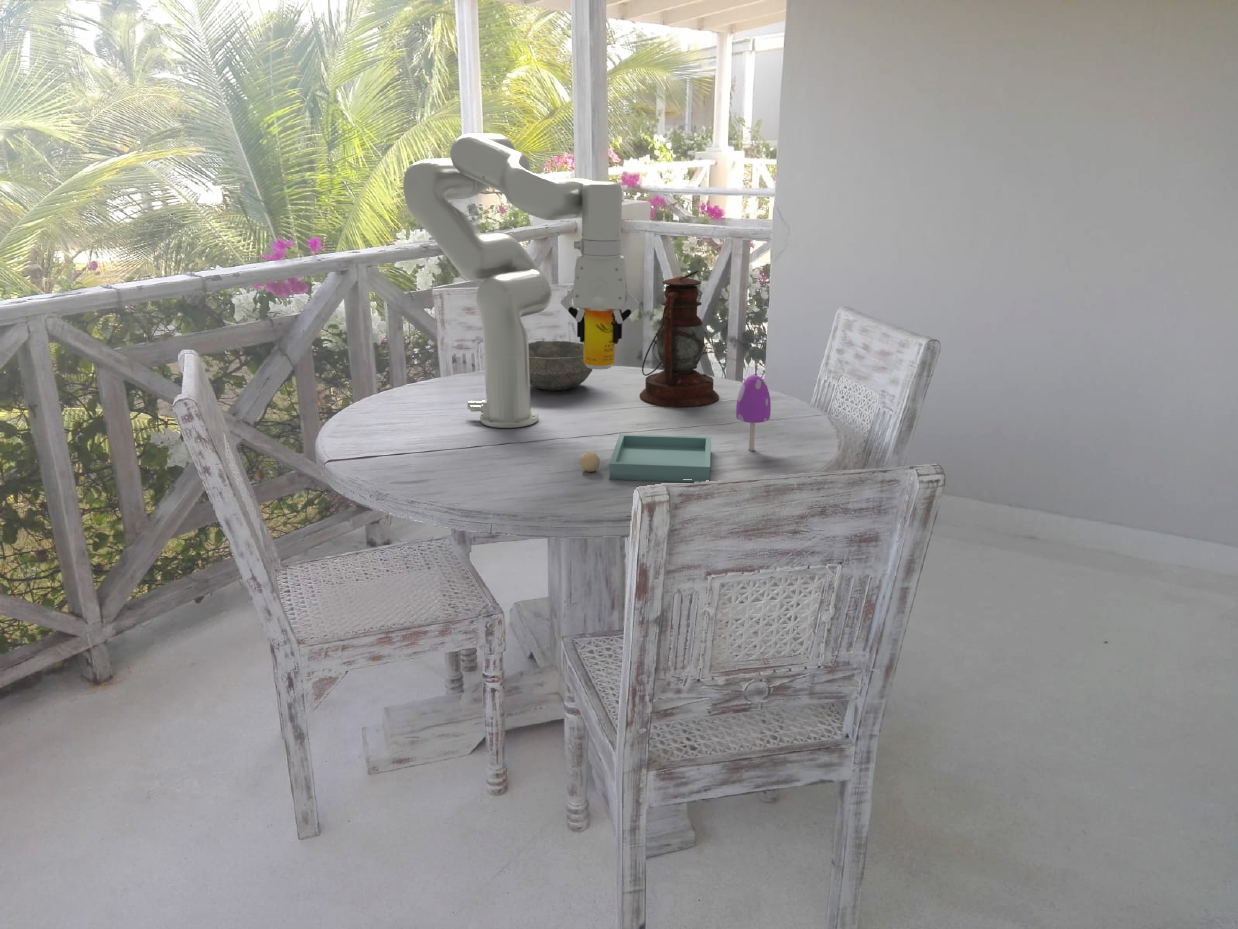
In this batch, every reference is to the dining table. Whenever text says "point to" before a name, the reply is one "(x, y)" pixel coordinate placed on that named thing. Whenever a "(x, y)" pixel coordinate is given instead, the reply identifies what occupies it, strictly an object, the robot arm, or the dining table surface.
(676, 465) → the tray
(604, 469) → the dining table surface
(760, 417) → the toy
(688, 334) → the lantern
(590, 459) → the cork ball
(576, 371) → the bowl
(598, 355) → the beer can
